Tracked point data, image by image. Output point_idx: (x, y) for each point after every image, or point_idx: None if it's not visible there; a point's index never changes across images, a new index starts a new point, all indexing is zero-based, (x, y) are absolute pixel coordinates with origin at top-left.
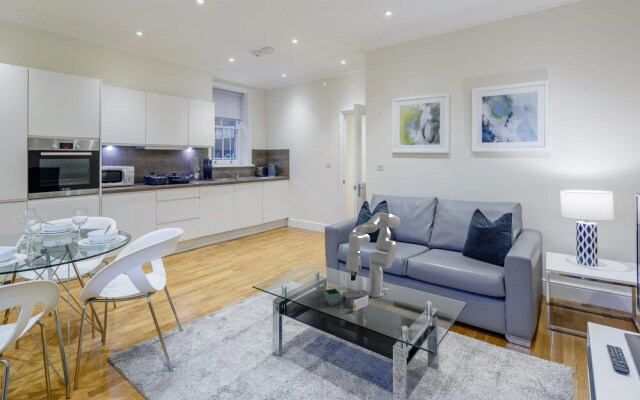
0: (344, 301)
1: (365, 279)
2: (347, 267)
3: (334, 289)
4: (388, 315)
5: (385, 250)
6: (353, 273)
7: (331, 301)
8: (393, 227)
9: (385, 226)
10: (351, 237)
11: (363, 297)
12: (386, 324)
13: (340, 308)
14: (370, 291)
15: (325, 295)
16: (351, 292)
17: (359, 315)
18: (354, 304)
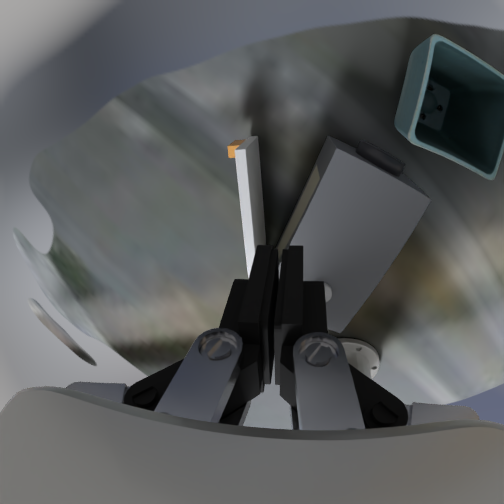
0: (359, 145)
1: (443, 401)
2: (459, 486)
3: (489, 169)
4: (129, 258)
5: None
6: (202, 371)
7: (409, 63)
8: None
9: None
10: None
11: (249, 254)
12: (71, 193)
13: (341, 94)
14: (349, 359)
15: (481, 74)
16: (381, 250)
17: (191, 133)
18: (236, 144)
